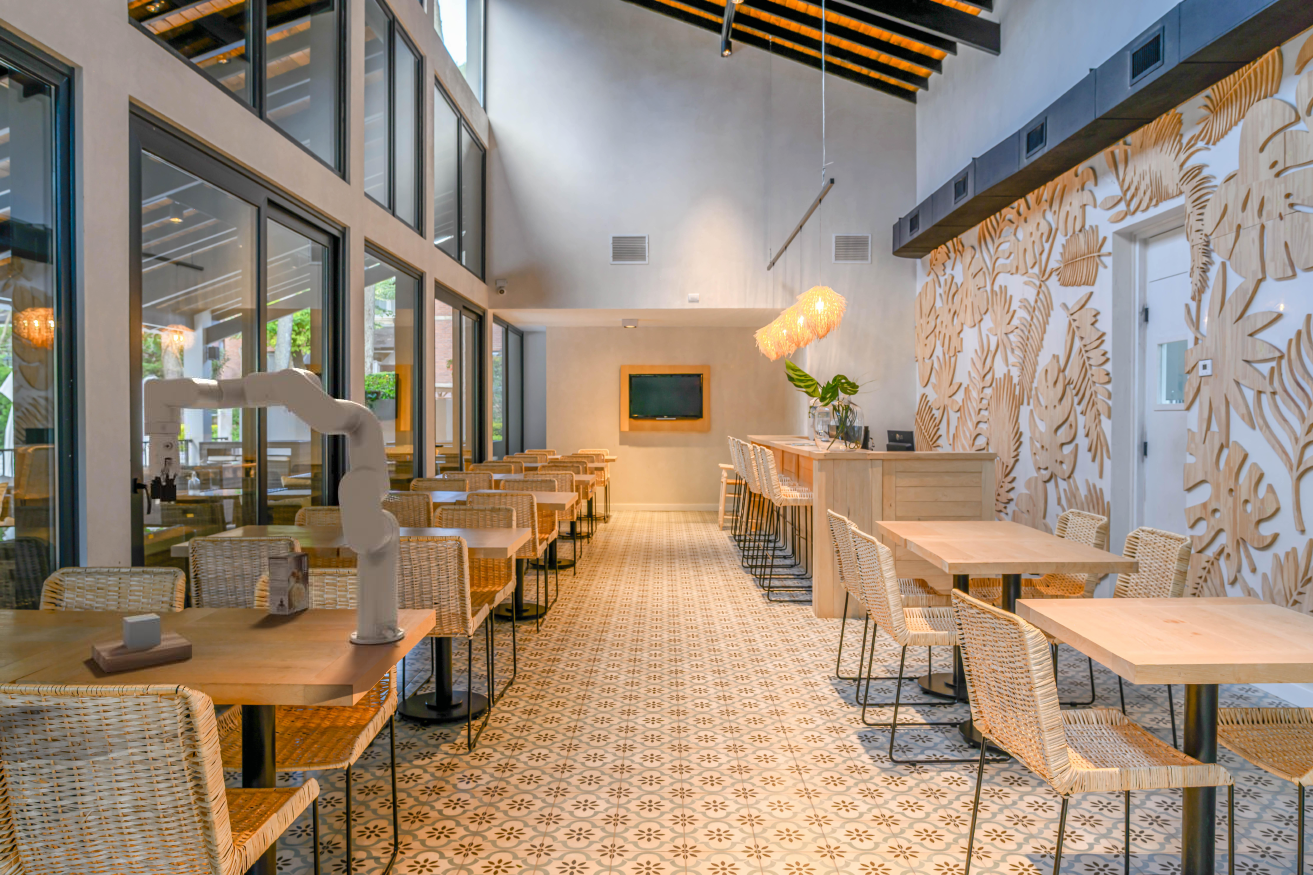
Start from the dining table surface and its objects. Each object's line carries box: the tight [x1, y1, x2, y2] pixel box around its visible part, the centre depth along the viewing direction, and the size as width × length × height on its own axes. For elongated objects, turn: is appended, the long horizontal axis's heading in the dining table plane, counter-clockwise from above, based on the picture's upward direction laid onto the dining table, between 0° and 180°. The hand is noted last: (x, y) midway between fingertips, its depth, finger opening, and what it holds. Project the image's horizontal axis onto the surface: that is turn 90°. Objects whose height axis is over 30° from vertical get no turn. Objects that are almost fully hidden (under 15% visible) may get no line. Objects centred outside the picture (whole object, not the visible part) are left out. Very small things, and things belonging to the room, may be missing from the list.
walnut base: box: [91, 630, 193, 673], centre depth 175 cm, size 16×16×3 cm
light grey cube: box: [122, 612, 162, 649], centre depth 175 cm, size 6×6×6 cm
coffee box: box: [268, 551, 310, 615], centre depth 219 cm, size 9×6×16 cm
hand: (163, 500), depth 188 cm, fingers open, 9 cm apart
